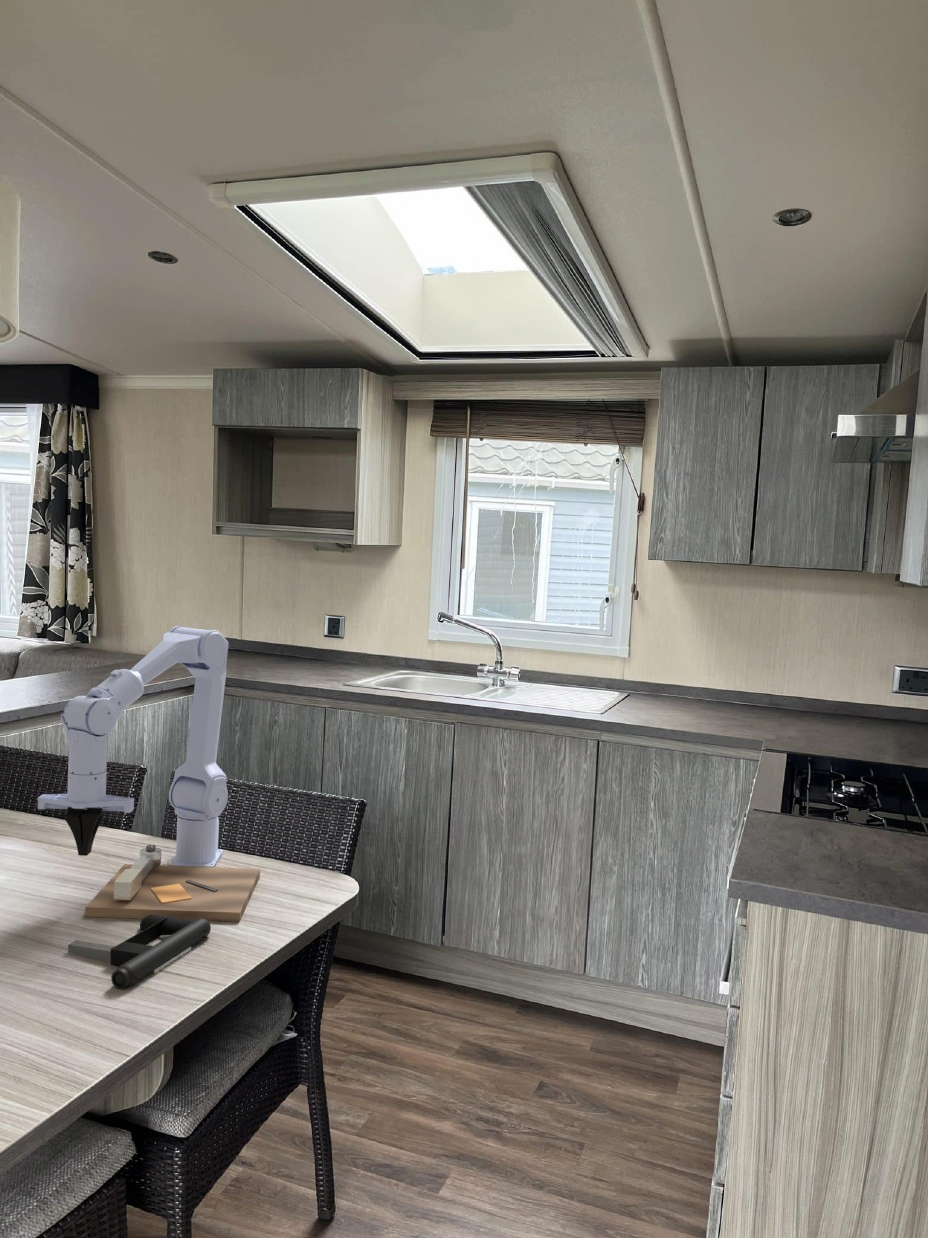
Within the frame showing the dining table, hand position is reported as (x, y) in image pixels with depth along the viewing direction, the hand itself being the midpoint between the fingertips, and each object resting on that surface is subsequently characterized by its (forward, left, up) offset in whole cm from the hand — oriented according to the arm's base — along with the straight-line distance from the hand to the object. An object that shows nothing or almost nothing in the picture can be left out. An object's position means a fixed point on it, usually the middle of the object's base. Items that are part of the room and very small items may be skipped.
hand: (84, 853), depth 148 cm
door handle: (+17, +13, -9) cm, 23 cm away
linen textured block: (-6, +7, -6) cm, 11 cm away
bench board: (-5, +14, -8) cm, 17 cm away
